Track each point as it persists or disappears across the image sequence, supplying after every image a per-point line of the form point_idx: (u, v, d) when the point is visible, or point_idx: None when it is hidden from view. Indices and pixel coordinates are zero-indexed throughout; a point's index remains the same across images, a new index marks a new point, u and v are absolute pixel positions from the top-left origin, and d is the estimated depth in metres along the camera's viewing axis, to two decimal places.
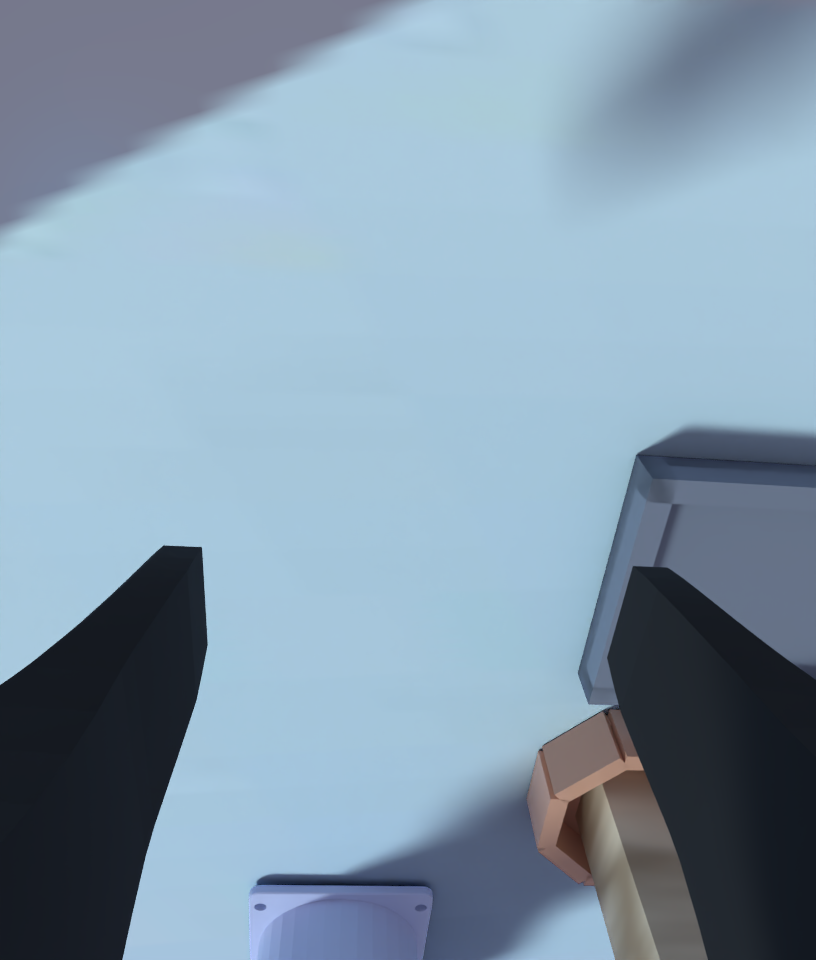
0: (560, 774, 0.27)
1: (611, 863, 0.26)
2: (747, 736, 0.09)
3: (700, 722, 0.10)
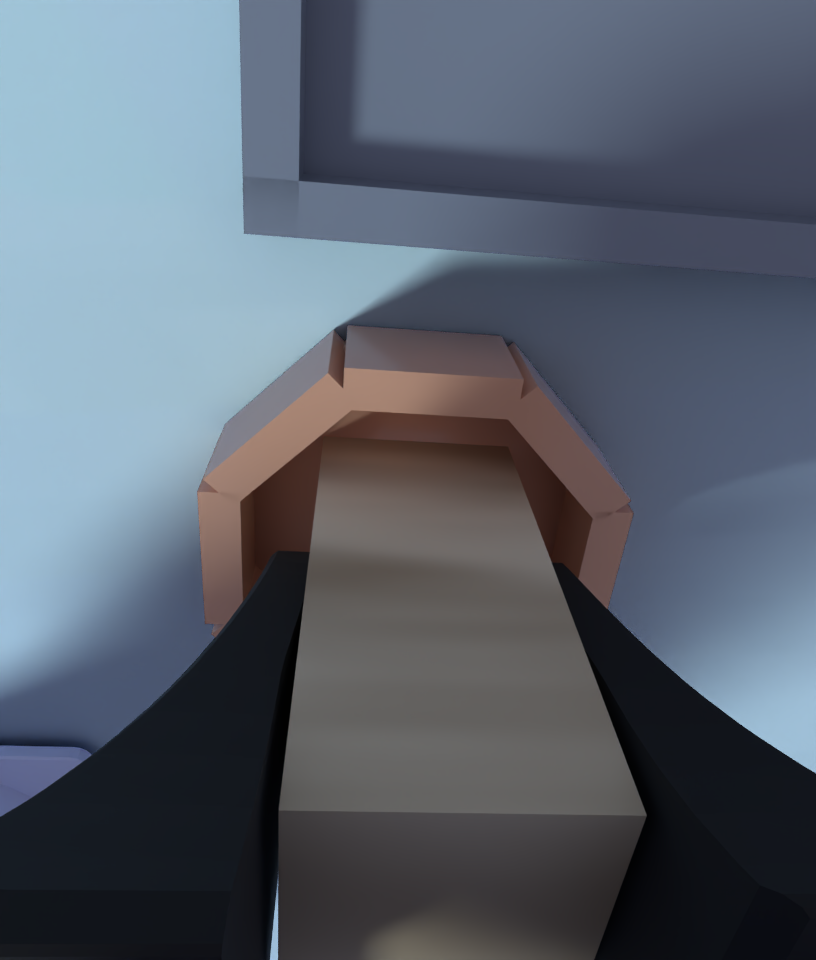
0: (228, 446, 0.13)
1: None
2: None
3: None
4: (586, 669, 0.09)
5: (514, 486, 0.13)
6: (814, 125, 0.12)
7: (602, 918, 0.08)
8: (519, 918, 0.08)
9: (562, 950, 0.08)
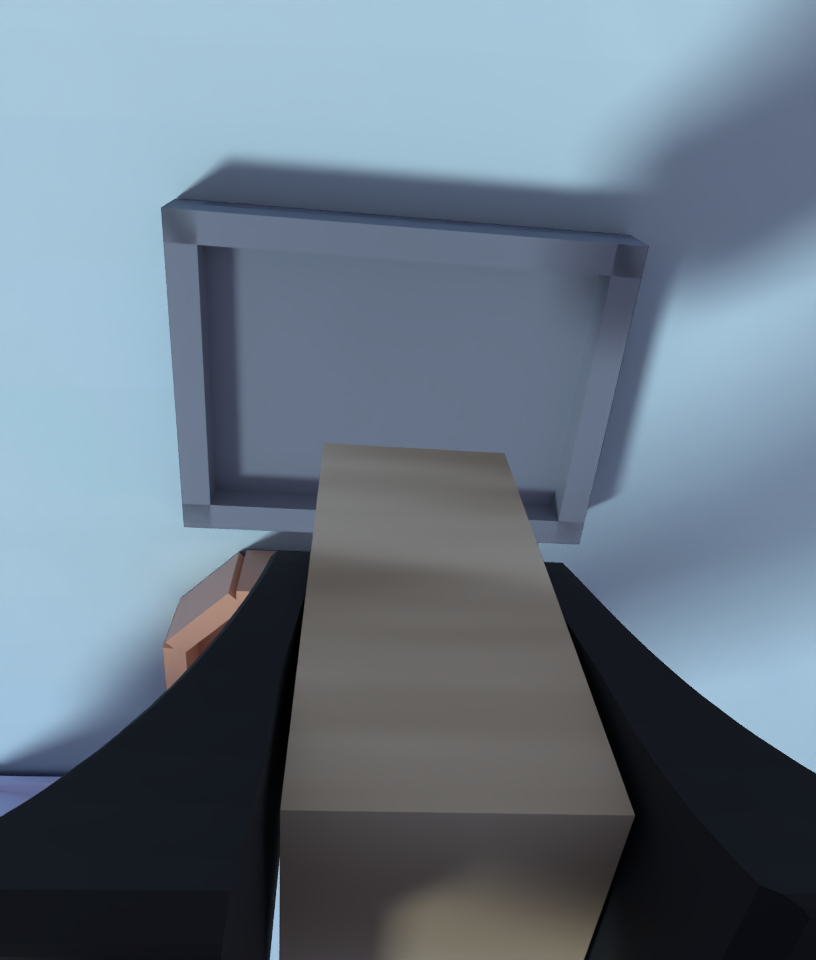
0: (179, 621, 0.23)
1: None
2: None
3: None
4: (578, 673, 0.09)
5: (510, 492, 0.13)
6: None
7: (593, 914, 0.08)
8: (513, 915, 0.08)
9: (554, 945, 0.08)
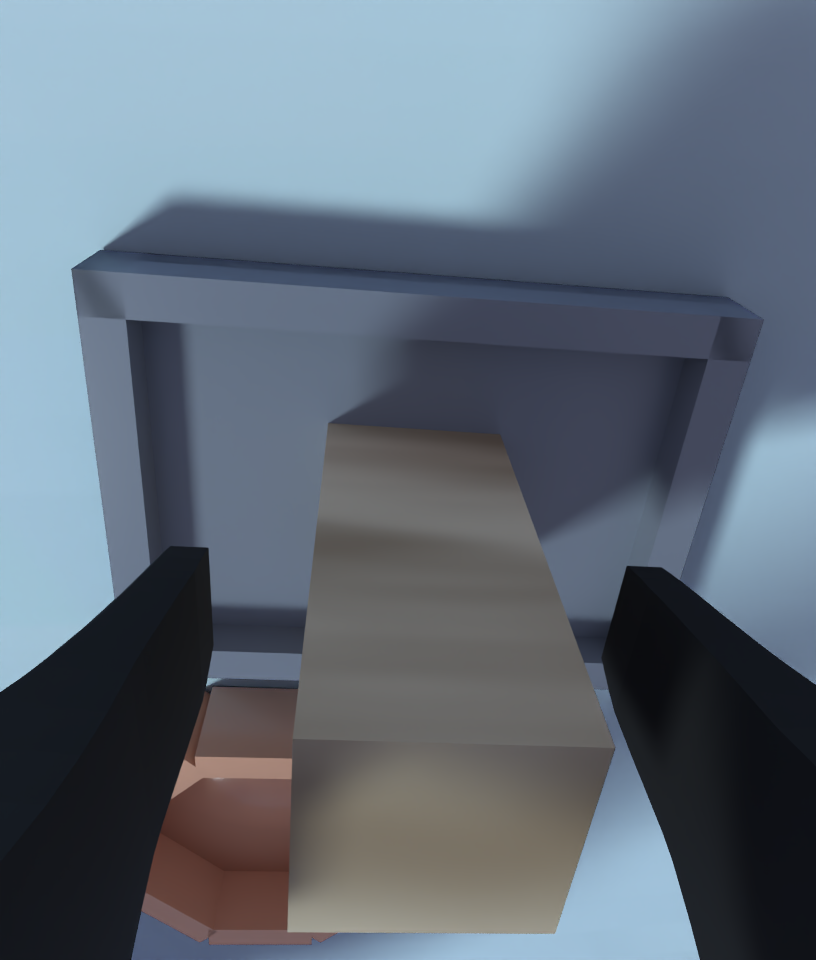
0: None
1: None
2: (739, 736, 0.09)
3: (693, 721, 0.10)
4: (566, 628, 0.10)
5: (505, 470, 0.14)
6: None
7: (577, 845, 0.09)
8: (503, 844, 0.09)
9: (542, 875, 0.09)
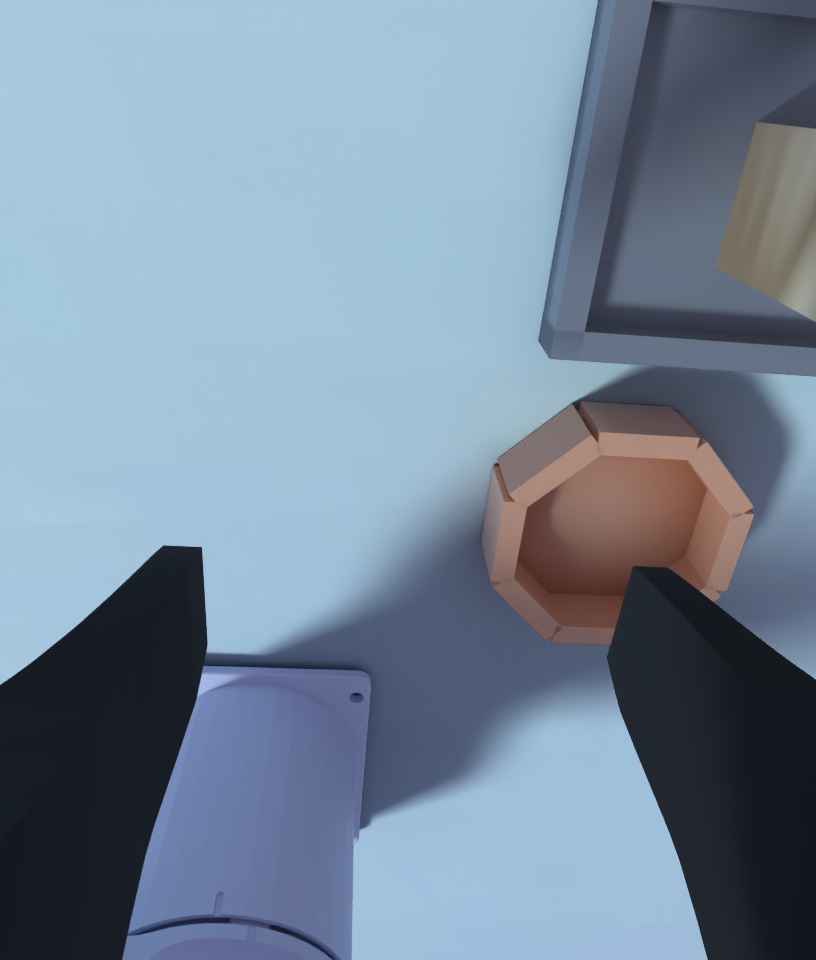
0: (517, 474, 0.21)
1: (812, 202, 0.16)
2: (747, 736, 0.09)
3: (700, 721, 0.10)
4: None
5: None
6: None
7: None
8: None
9: None
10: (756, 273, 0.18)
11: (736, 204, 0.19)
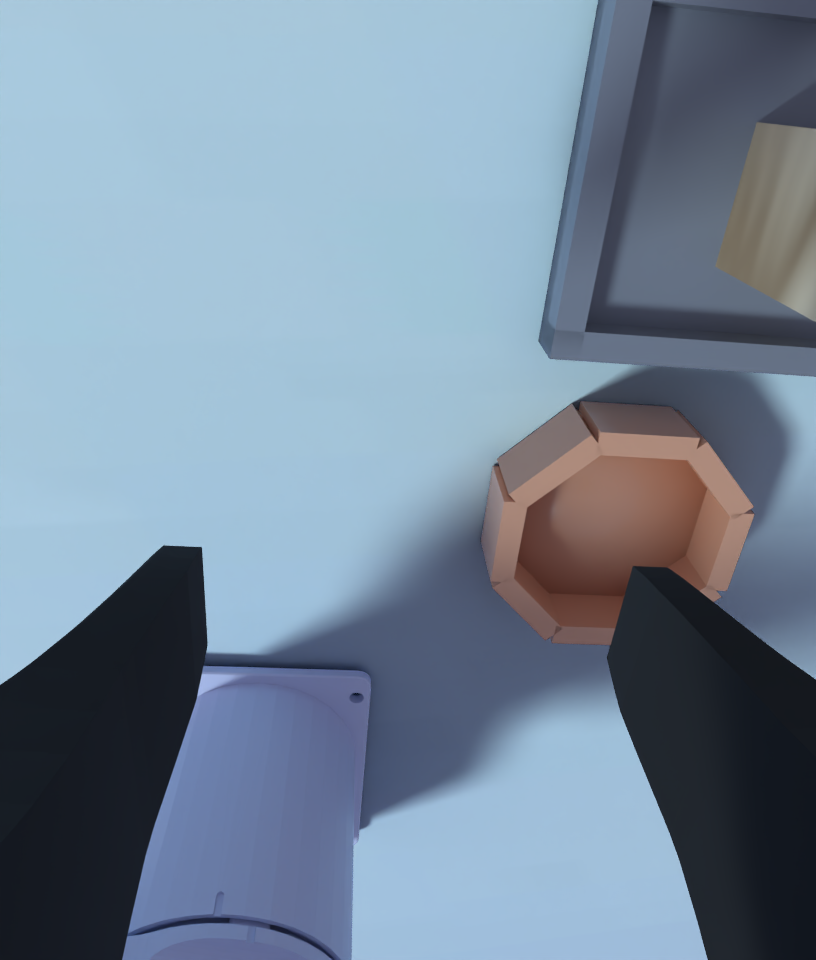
0: (517, 474, 0.21)
1: (812, 202, 0.16)
2: (747, 736, 0.09)
3: (700, 721, 0.10)
4: None
5: None
6: None
7: None
8: None
9: None
10: (756, 273, 0.18)
11: (736, 204, 0.19)
